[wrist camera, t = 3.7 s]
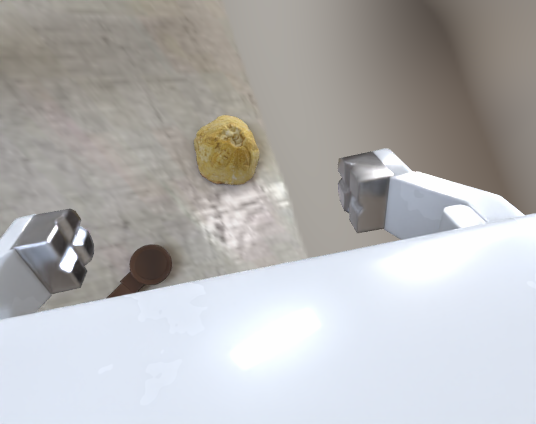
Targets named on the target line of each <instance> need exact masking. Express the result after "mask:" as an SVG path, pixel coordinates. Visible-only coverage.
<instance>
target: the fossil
mask: <svg viewBox="0 0 536 424" xmlns="http://www.w3.org/2000/svg"><path fill="white" fill-rule="evenodd" d="M196 136H197V137H196V138H195V140H194V147H195V151H196V154H197V164H198V167H199V171H200V172H201V175H202V176H203V177H205V178H206V179H208V180H209V181H211V182H213V183H216V184H222V183H224V184H230V185H238V184H244V183H245V182H247V181H248V180H250V179H251V178H252V177H253V175H254V173H255V168H256V166H257V163H258V160H259V150H258V147H257V145H256V142H255V139H254V137H253V134H252V132H251V131H250V130H249V128H248V126H247V125H246V124H245V123H244V122H243V121H242V120H240V119H238V118H237V117H233V116H228V115H222V116H219V117H217V119H216V120H214V121H213V122H211V123H209V124H208V125H206V126H204V127H202V128H201V129H200V130H199V131H198V132H197V134H196Z"/></svg>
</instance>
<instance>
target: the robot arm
mask: <svg viewBox="0 0 536 424" xmlns="http://www.w3.org/2000/svg"><path fill="white" fill-rule="evenodd" d="M338 172H339V173H340V175H341V177H342V178H341V180H340V181H339V183H338V192H339V198H340V202H341V205H342V207H343V209H344V211H346V212H348V213H349V220H350V222H351V224H352V225H353V227H354V229H355V230H356V232H357V233H361V232H367V231H372V230H378V229H384V230H386V231H387V232H389V233H391V234H393V235H394V236H396V237H397V238H399V239H401V240H398V241H393V242H389V243H383V244H378V245H373V246H369V247H363V248H358V249H353V250H348V251H343V252H338V253H333V254H328V255H323V256H318V257H313V258H308V259H303V260H298V261H293V262H288V263H283V264H278V265H273V266H268V267H263V268H258V269H253V270H248V271H243V272H238V273H233V274H228V275H223V276H218V277H213V278H208V279H203V280H198V281H193V282H188V283H182V284H177V285H172V286H167V287H162V288H157V289H152V290H147V291H142V292H137V293H132V294H127V295H122V296H117V297H112V298H107V299H102V300H97V301H92V302H87V303H82V304H77V305H72V306H67V307H62V308H57V309H52V310H47V311H42V312H37V310H38V309H39V308H40V307H41V306H42V305H43V304H44V303H45V302H46V301H47V300H48V299H49V298H50V297H51V296H52V295H51V294H55V293H59V292H64V291H68V290H73V289H77V288H81V286H82V283H83V281H84V278H85V276H86V273H87V270H86V268H85V267H84V266H85V265H87V264H88V263H89V262H90V261H91V260H92V257H93V254H94V243H93V240H92V237H91V235H90V234H89V232H88V231H87V230H85V229H83V228H82V227H80V222H81V219H80V217H79V216H78V214H77V213H76V211H74V210H72V209H65V210H60V211H54V212H48V213H42V214H37V215H35V214H34V215H30V216H25V217H20V218H17V219H15V220H14V222H13V223H12V224H11V226H10V227H9V228H8V230H7V231H6V232H5V234H4V235H3V236H2V237H1V239H0V424H536V213H535V214H530V215H524V214H522V213H521V212H520V211H518V210H517V209H516V208H515V207H513V206H512V205H511V204H510V203H509V202H507V201H506V200H505V199H504V198H502V197H501V196H499V195H496V194H492V193H489V192H486V191H482V190H479V189H475V188H472V187H468V186H465V185H462V184H458V183H454V182H451V181H448V180H445V179H441V178H438V177H434V176H431V175H428V174H424V173H421V172H412V171H411V170H410V169H409V168H408V167H407V166H406V165H405V164H404V163H403V162H402V161H401V160H400V159H399V158H398V157H397V156H396V155H395V154H394V153H392V151H391V150H390V149H387V148H385V149H381V150H377V151H372V152H367V153H362V154H358V155H353V156H349V157H344V158H340V159H339V162H338ZM36 312H37V313H36Z"/></svg>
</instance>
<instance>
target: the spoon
mask: <svg viewBox="0 0 536 424" xmlns="http://www.w3.org/2000/svg"><path fill="white" fill-rule="evenodd" d="M171 267H172V261H171V257H170V255H169V253H168V252H167V251H166V250H165V249H164V248H162V247H160V246H158V245H146V246H143V247H141V248H139V249H138V250H137V251H136V252H135V253H134V254H133V256H132V257H131V260H130V271H131V272H130V273H128V274H127V275H126V276H125V277H124V278H123V279H122V280H121V281H120V282H121V283H122V284H121V285H119V286H118V287H117V288H116V289H115V290H114V291H113V292H112V293H111V294H110V295H109V296H108V297H107V298H112V297H117V296H122V295H127V294H132V293H136V292H137V291H138V290H139V289H140V288H141V287H142V286H143V285H144V284H145V285H154V284H158V283H160V282H162V281H163V280H164V279H165V278H166V277H167V276H168V275H169V273H170V271H171ZM107 298H106V299H107Z"/></svg>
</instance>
